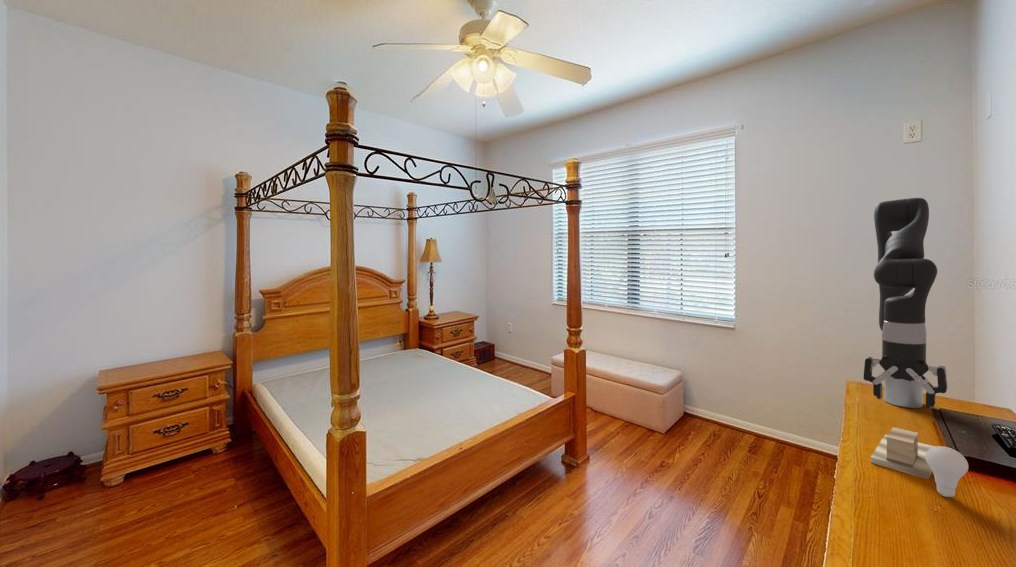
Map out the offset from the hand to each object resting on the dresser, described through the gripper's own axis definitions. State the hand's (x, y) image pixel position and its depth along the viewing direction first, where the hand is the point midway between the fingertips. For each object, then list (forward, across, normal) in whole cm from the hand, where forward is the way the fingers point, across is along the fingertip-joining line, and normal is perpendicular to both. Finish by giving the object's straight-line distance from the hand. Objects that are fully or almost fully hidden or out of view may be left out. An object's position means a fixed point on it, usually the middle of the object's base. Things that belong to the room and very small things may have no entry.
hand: (902, 402), depth 94 cm
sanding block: (+14, 0, 0) cm, 14 cm away
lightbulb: (+16, -8, +11) cm, 21 cm away
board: (+16, 0, -4) cm, 16 cm away
